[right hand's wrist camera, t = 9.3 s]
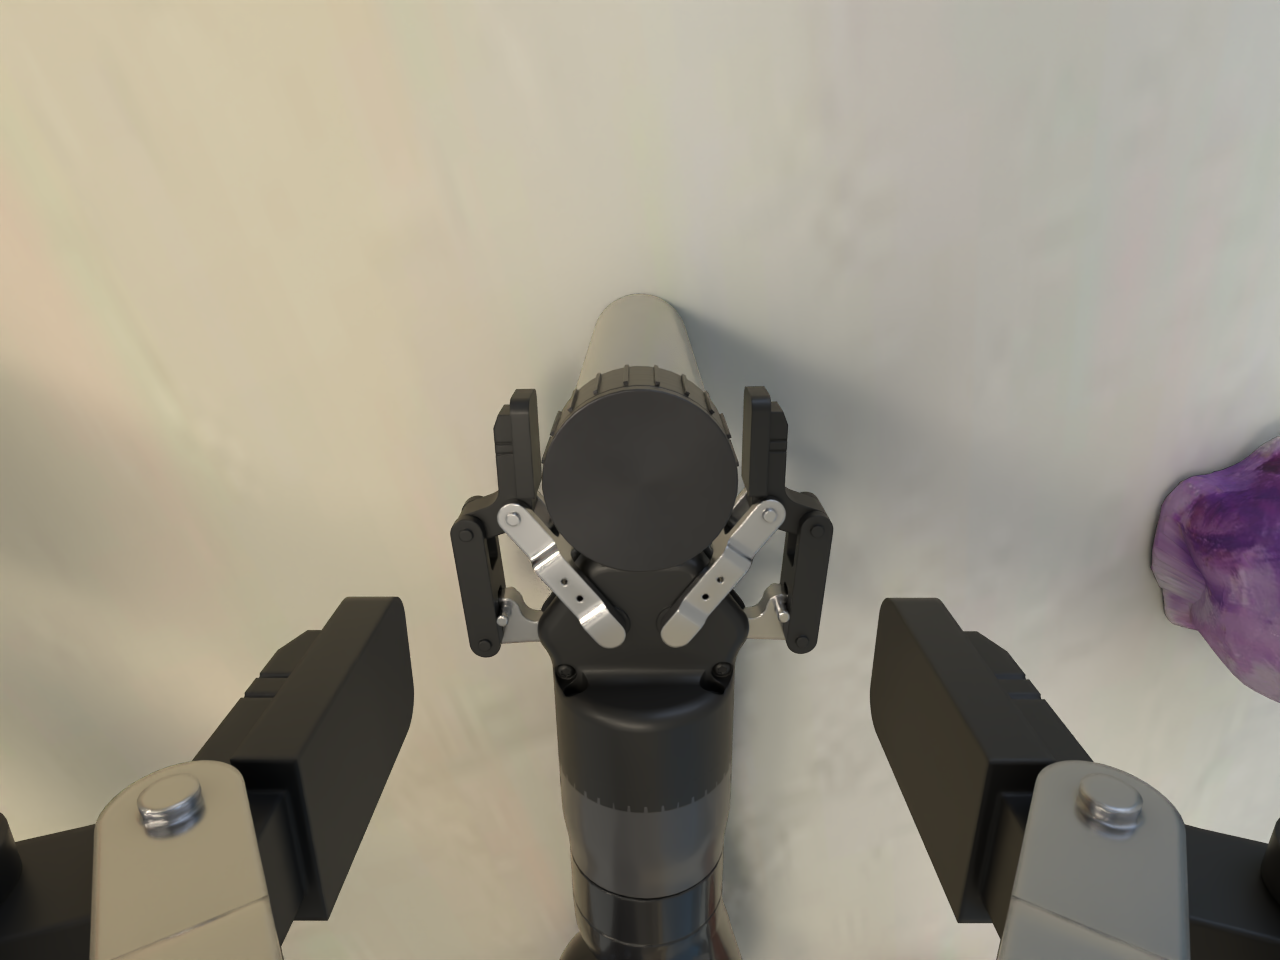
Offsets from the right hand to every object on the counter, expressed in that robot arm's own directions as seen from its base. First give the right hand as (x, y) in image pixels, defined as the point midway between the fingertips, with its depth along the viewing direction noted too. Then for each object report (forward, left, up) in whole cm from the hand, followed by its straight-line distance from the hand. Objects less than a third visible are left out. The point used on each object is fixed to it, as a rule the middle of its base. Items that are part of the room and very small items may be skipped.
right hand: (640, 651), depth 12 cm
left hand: (0, -1, -18) cm, 18 cm away
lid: (0, 0, -7) cm, 7 cm away
